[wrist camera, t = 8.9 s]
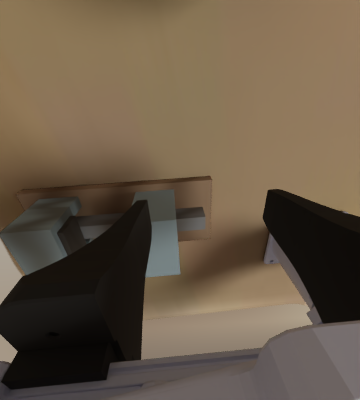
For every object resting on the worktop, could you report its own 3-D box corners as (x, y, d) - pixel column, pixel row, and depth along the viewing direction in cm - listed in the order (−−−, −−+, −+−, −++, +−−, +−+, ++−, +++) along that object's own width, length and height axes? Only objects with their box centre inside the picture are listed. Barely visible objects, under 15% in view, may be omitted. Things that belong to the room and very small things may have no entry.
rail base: (210, 176, 21) (226, 207, 15) (208, 233, 25) (221, 275, 19) (22, 189, 20) (-34, 228, 15) (51, 246, 24) (16, 293, 19)
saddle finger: (173, 189, 20) (176, 219, 15) (177, 236, 23) (180, 274, 19) (130, 192, 20) (119, 224, 15) (140, 239, 23) (133, 278, 18)
